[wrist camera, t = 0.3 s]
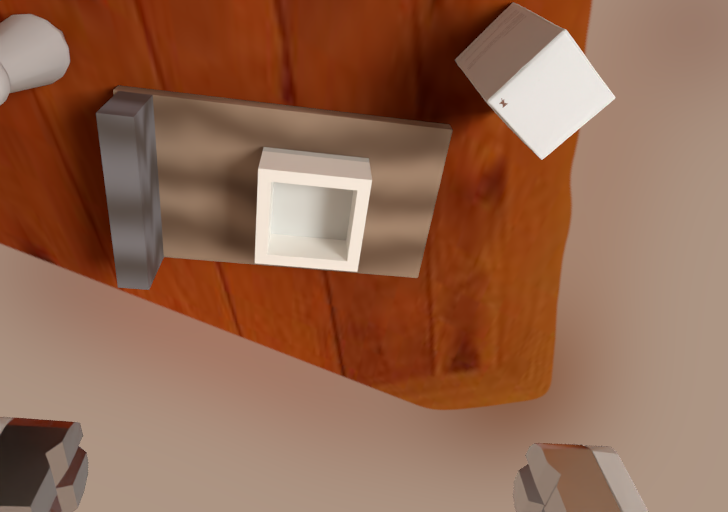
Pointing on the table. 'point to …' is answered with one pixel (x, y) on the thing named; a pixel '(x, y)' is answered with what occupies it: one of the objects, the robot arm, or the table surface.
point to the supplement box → (534, 78)
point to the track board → (251, 177)
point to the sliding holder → (311, 209)
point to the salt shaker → (30, 54)
